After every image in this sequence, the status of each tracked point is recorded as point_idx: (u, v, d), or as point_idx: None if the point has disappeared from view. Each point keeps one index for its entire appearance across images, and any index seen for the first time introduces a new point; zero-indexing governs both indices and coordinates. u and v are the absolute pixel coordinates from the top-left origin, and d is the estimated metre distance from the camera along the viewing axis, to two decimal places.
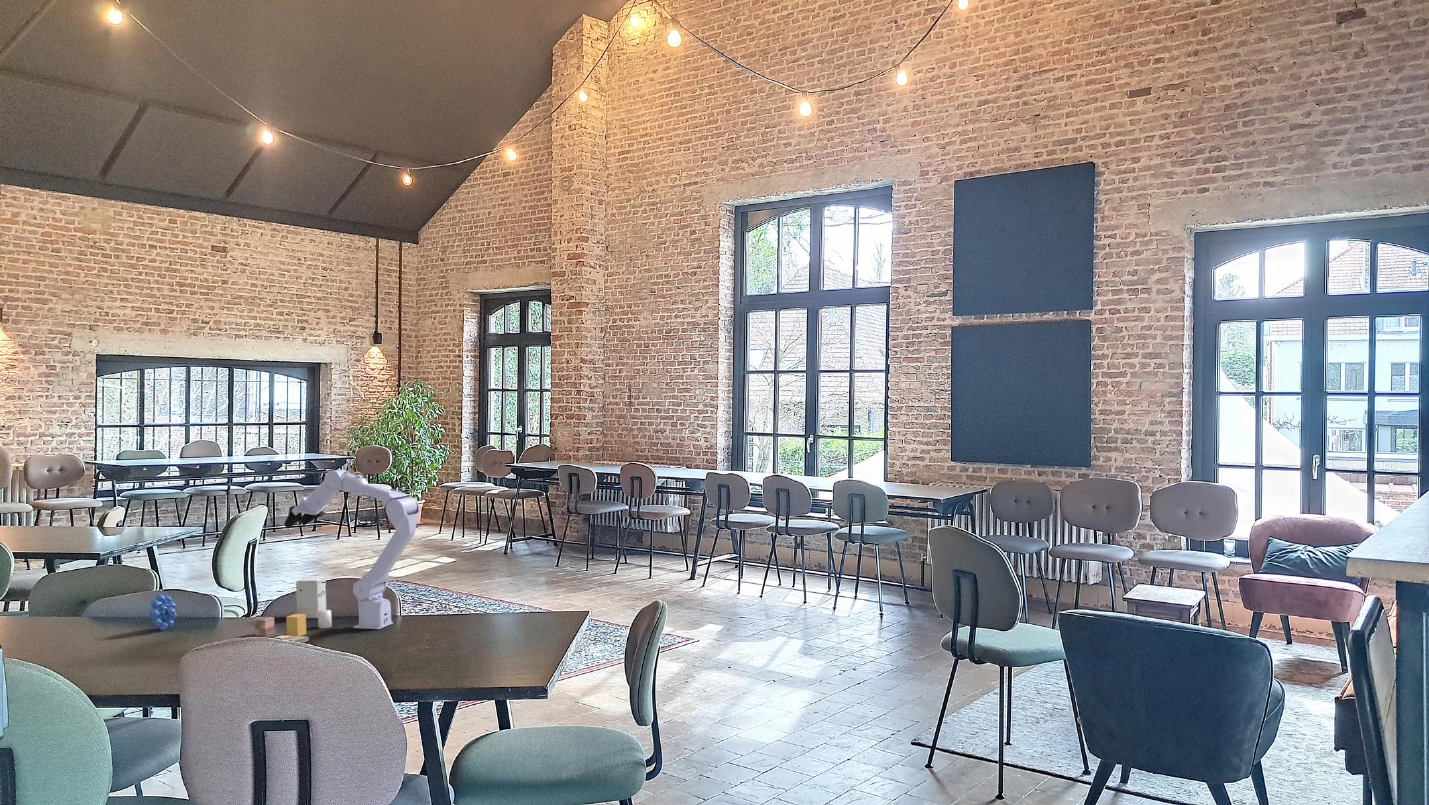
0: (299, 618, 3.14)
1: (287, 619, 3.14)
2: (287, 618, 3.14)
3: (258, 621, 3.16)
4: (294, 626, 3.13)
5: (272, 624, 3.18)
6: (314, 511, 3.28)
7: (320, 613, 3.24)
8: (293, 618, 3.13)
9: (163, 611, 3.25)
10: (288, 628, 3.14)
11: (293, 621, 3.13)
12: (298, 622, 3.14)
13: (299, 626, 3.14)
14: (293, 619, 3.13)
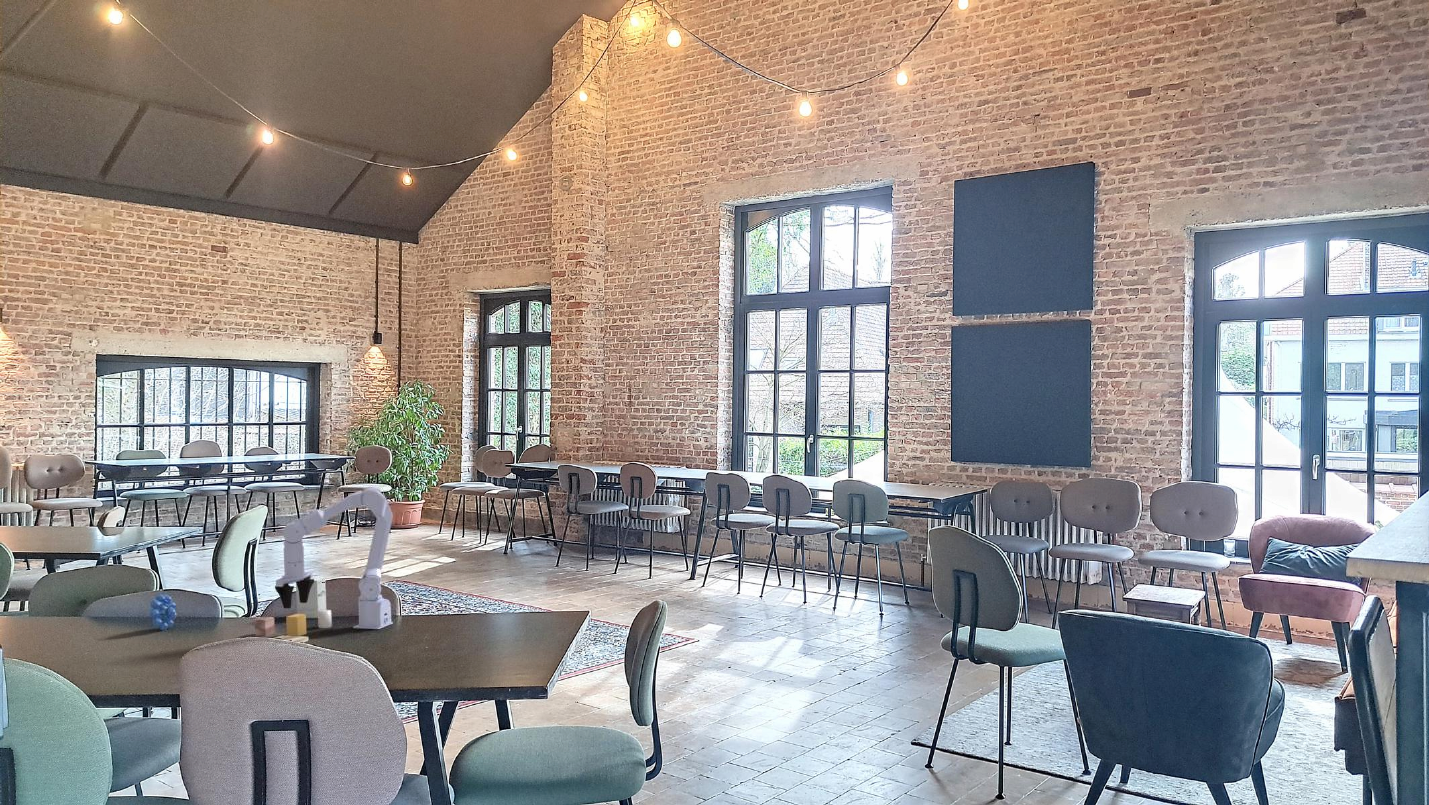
0: (299, 618, 3.14)
1: (287, 619, 3.14)
2: (287, 618, 3.14)
3: (258, 621, 3.16)
4: (294, 626, 3.13)
5: (272, 624, 3.18)
6: (298, 575, 3.13)
7: (320, 613, 3.24)
8: (293, 618, 3.13)
9: (163, 611, 3.25)
10: (288, 628, 3.14)
11: (293, 621, 3.13)
12: (298, 622, 3.14)
13: (299, 626, 3.14)
14: (293, 619, 3.13)
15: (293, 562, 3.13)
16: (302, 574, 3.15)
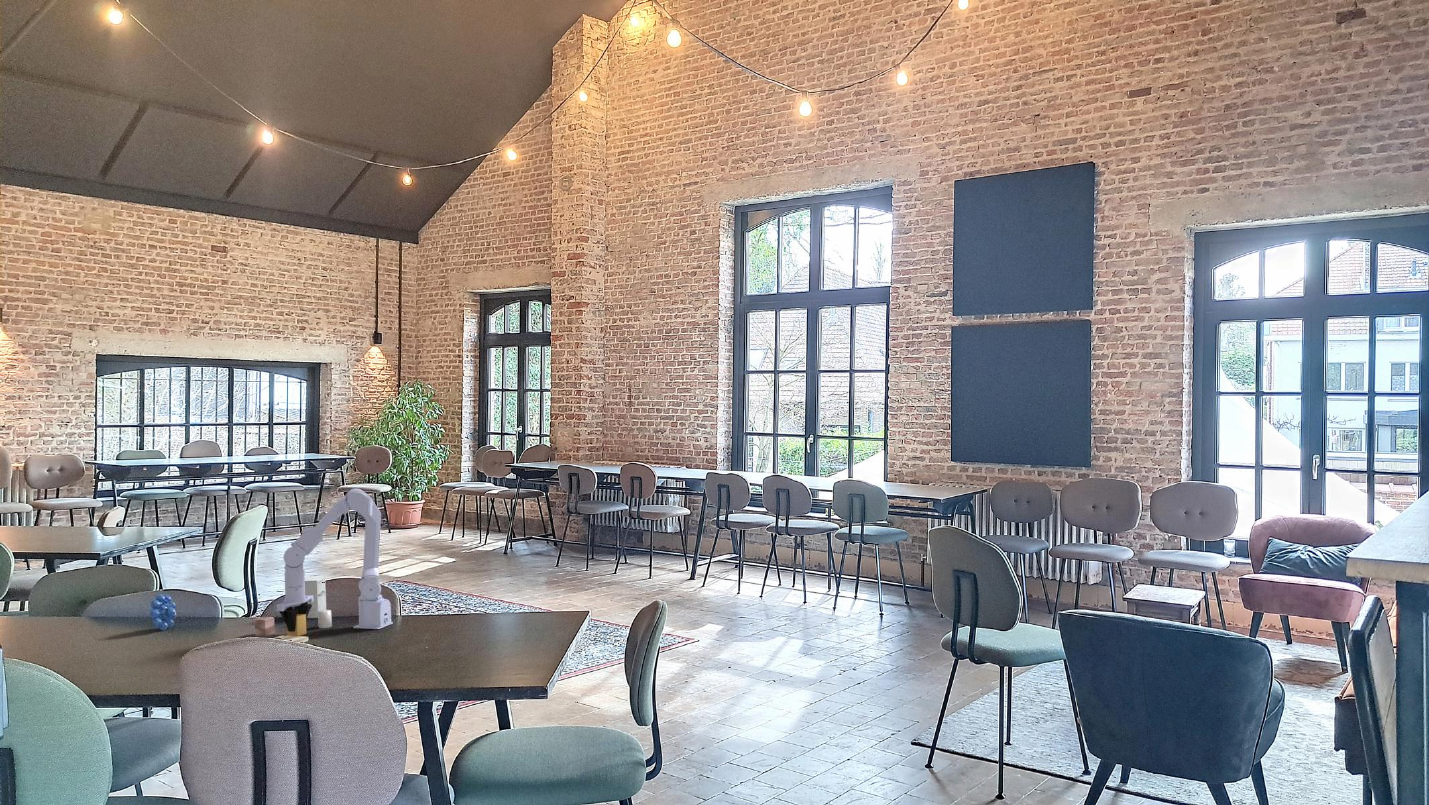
0: (299, 618, 3.14)
1: None
2: None
3: (258, 621, 3.16)
4: None
5: (272, 624, 3.18)
6: (299, 599, 3.13)
7: (320, 613, 3.24)
8: None
9: (163, 611, 3.25)
10: None
11: None
12: (298, 622, 3.14)
13: (299, 626, 3.14)
14: None
15: (294, 586, 3.13)
16: (303, 598, 3.15)
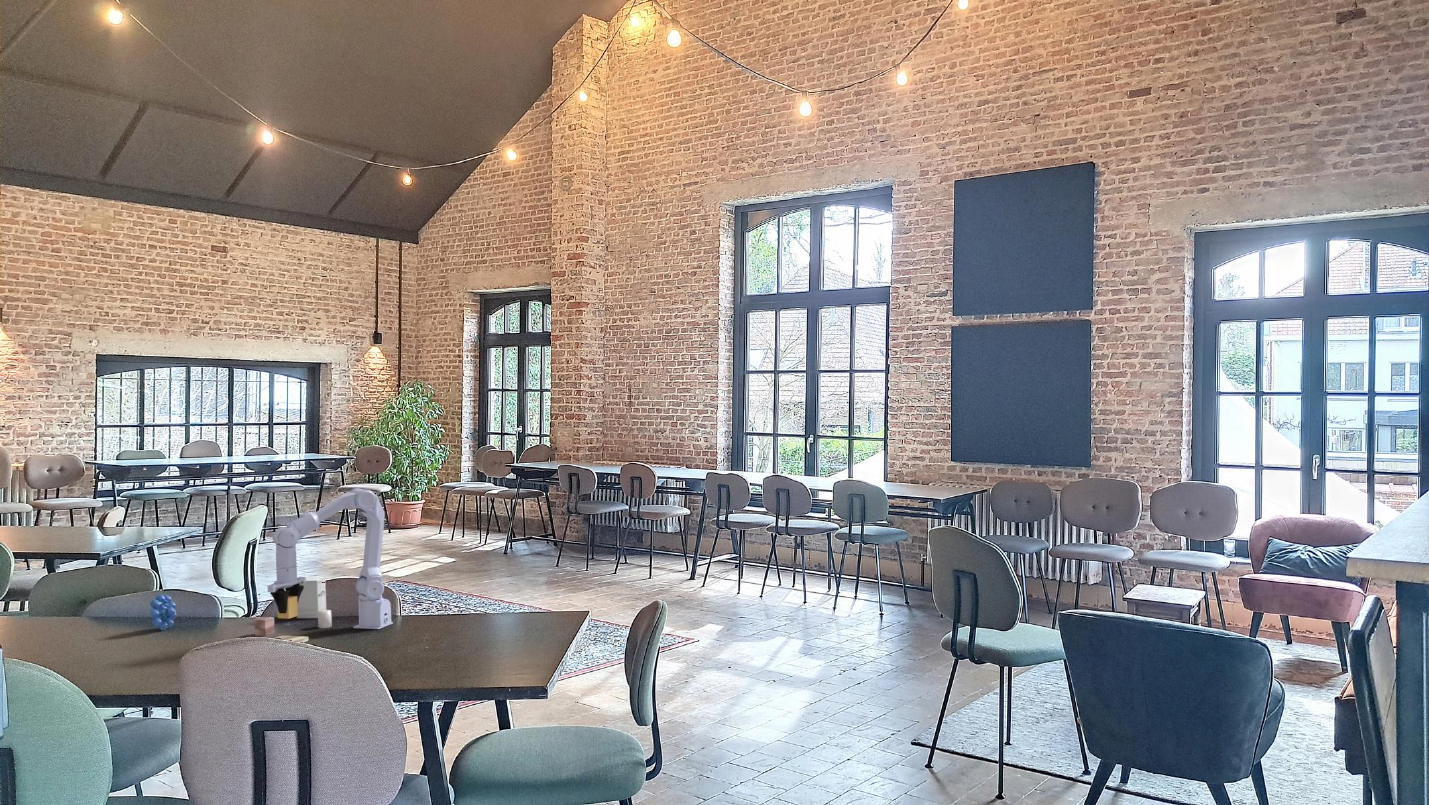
0: (290, 600, 3.07)
1: None
2: None
3: (258, 621, 3.16)
4: None
5: (272, 624, 3.18)
6: (290, 580, 3.07)
7: (320, 613, 3.24)
8: None
9: (163, 611, 3.25)
10: None
11: None
12: (289, 604, 3.07)
13: (290, 608, 3.07)
14: None
15: (288, 567, 3.06)
16: (294, 579, 3.08)
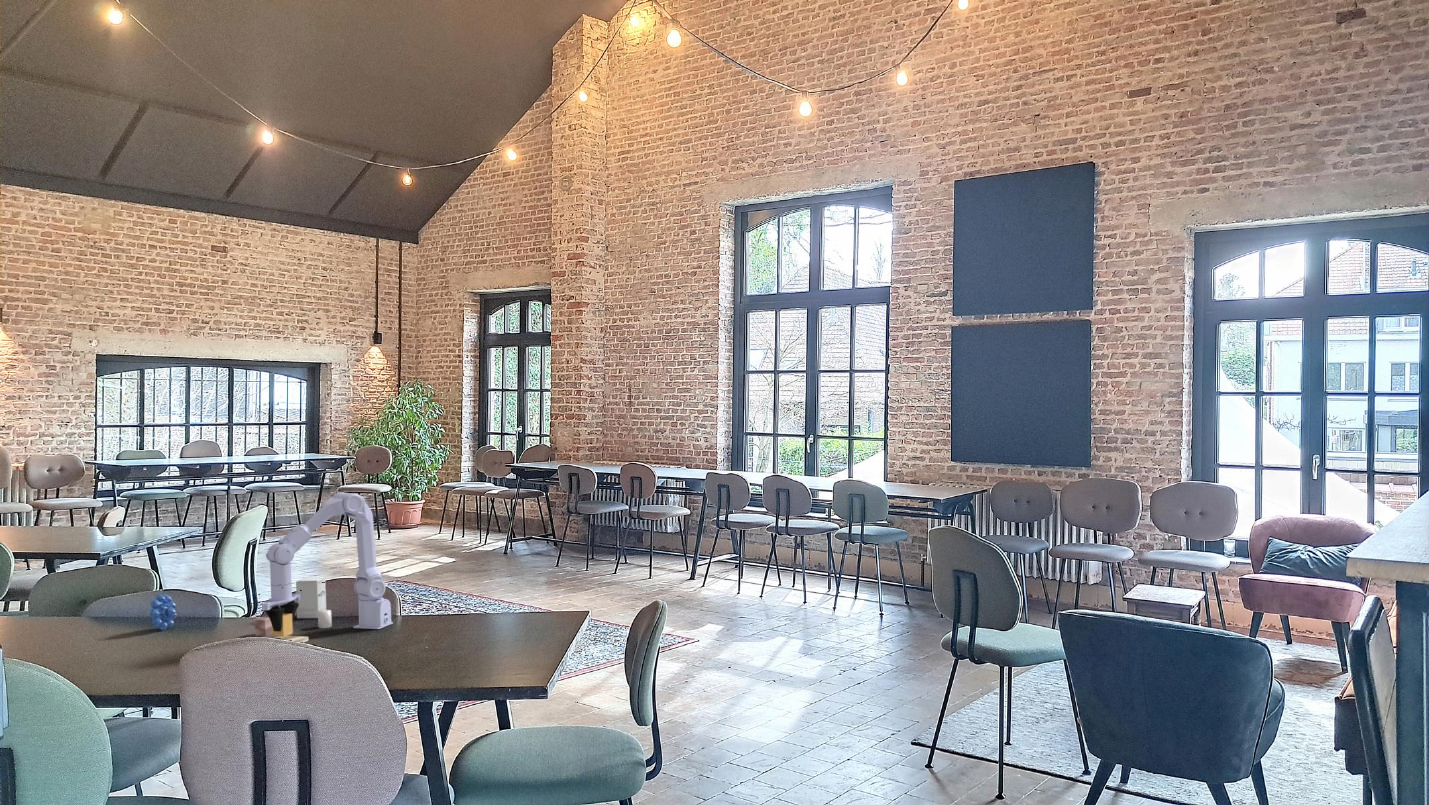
0: (285, 617, 3.02)
1: None
2: None
3: (258, 621, 3.16)
4: None
5: None
6: (285, 598, 3.02)
7: (320, 613, 3.24)
8: None
9: (163, 611, 3.25)
10: None
11: None
12: (284, 622, 3.02)
13: (285, 626, 3.02)
14: None
15: (284, 584, 3.02)
16: (289, 597, 3.03)
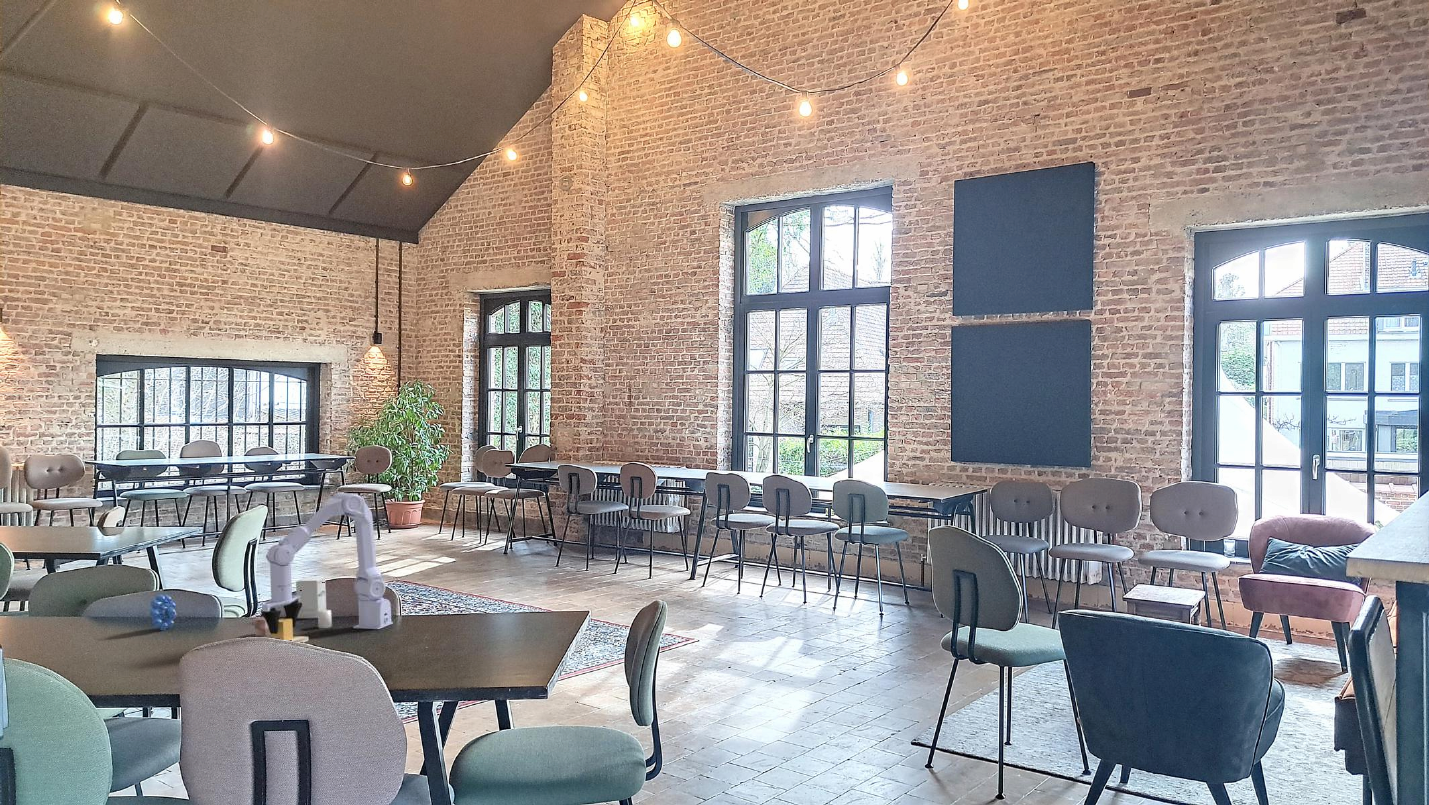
0: (285, 623, 3.02)
1: None
2: None
3: (258, 621, 3.16)
4: (280, 631, 3.02)
5: None
6: (285, 599, 3.02)
7: (320, 613, 3.24)
8: (279, 622, 3.02)
9: (163, 611, 3.25)
10: None
11: (279, 626, 3.02)
12: (284, 627, 3.02)
13: (285, 631, 3.02)
14: (279, 624, 3.02)
15: (284, 585, 3.02)
16: (289, 598, 3.03)
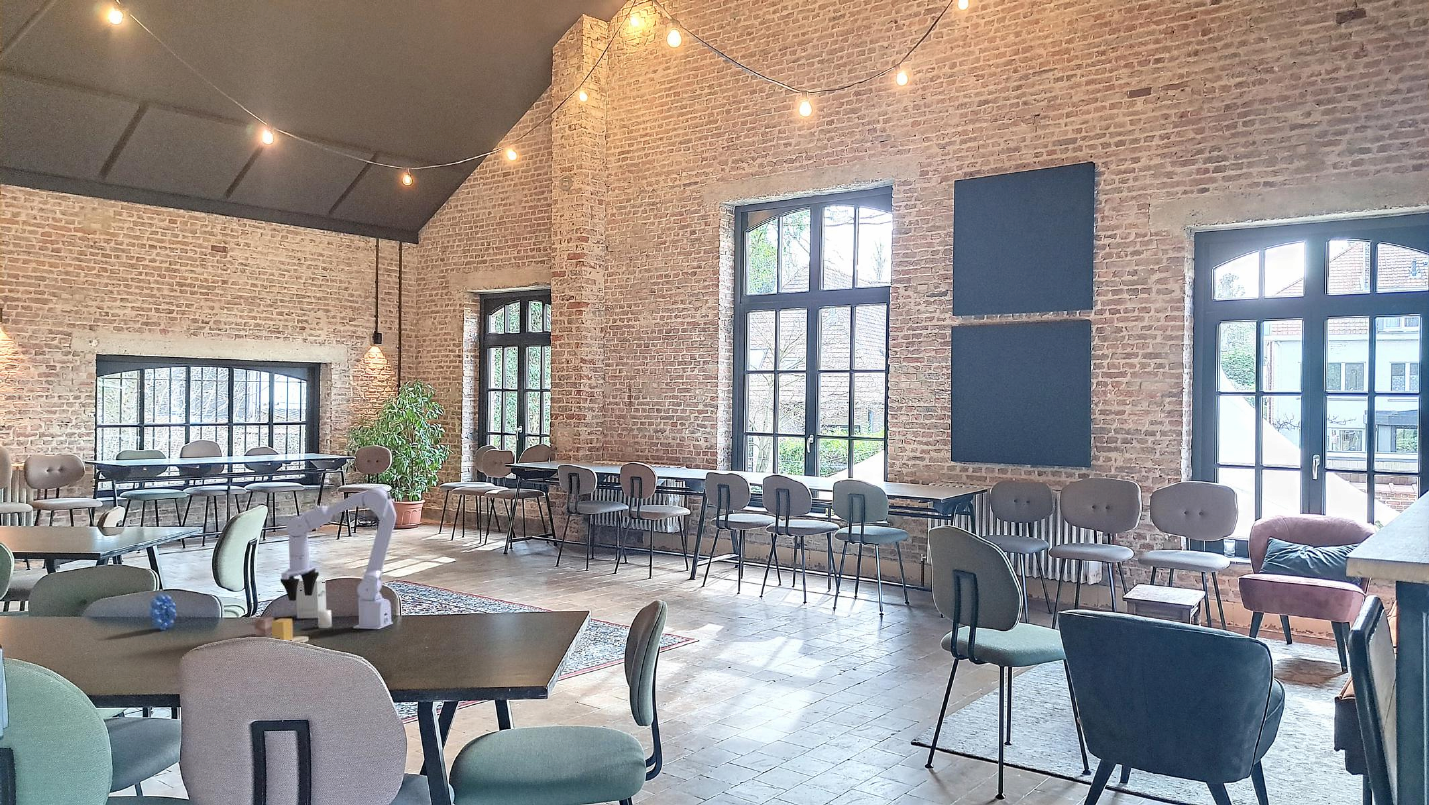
0: (285, 623, 3.02)
1: (273, 624, 3.02)
2: (273, 623, 3.02)
3: (258, 621, 3.16)
4: (280, 631, 3.02)
5: None
6: (303, 568, 3.19)
7: (320, 613, 3.24)
8: (279, 622, 3.02)
9: (163, 611, 3.25)
10: (274, 633, 3.02)
11: (279, 626, 3.02)
12: (284, 627, 3.02)
13: (285, 631, 3.02)
14: (279, 624, 3.02)
15: (296, 555, 3.18)
16: (307, 567, 3.20)
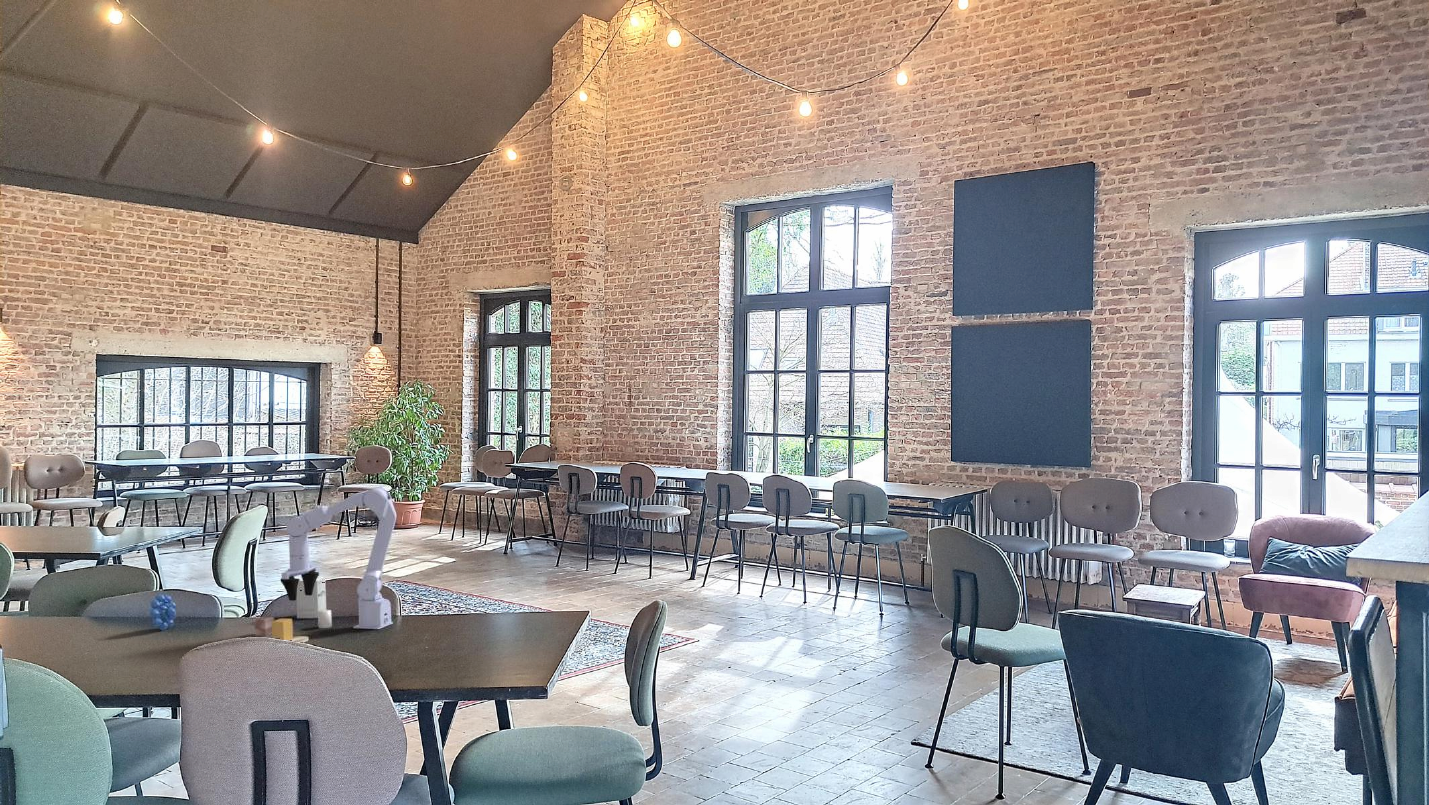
0: (285, 623, 3.02)
1: (273, 624, 3.02)
2: (273, 623, 3.02)
3: (258, 621, 3.16)
4: (280, 631, 3.02)
5: None
6: (303, 568, 3.19)
7: (320, 613, 3.24)
8: (279, 622, 3.02)
9: (163, 611, 3.25)
10: (274, 633, 3.02)
11: (279, 626, 3.02)
12: (284, 627, 3.02)
13: (285, 631, 3.02)
14: (279, 624, 3.02)
15: (296, 555, 3.18)
16: (307, 567, 3.20)
